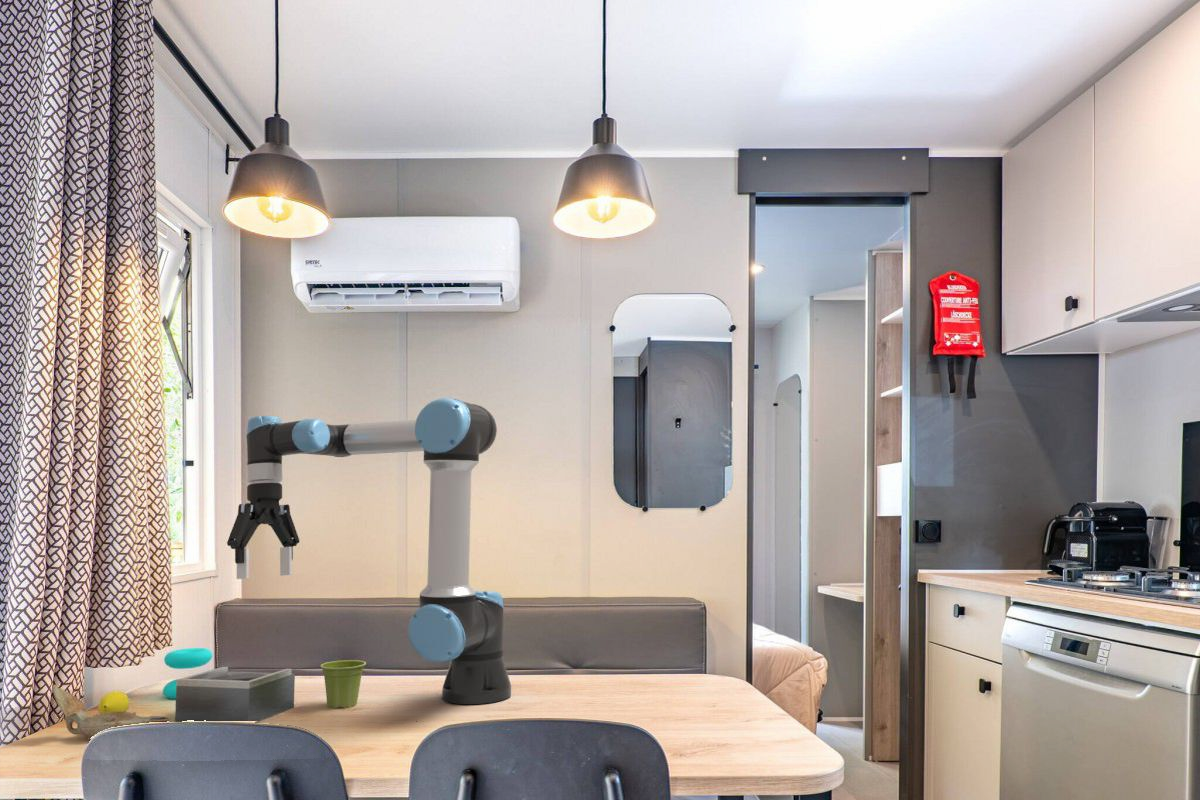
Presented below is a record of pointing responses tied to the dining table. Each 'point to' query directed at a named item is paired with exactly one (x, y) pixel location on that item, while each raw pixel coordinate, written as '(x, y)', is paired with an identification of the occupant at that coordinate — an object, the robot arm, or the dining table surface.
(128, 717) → the oil lamp
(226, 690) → the gray open-top box
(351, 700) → the plant pot
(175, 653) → the donuts
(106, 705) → the lemon
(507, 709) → the dining table surface
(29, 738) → the dining table surface
